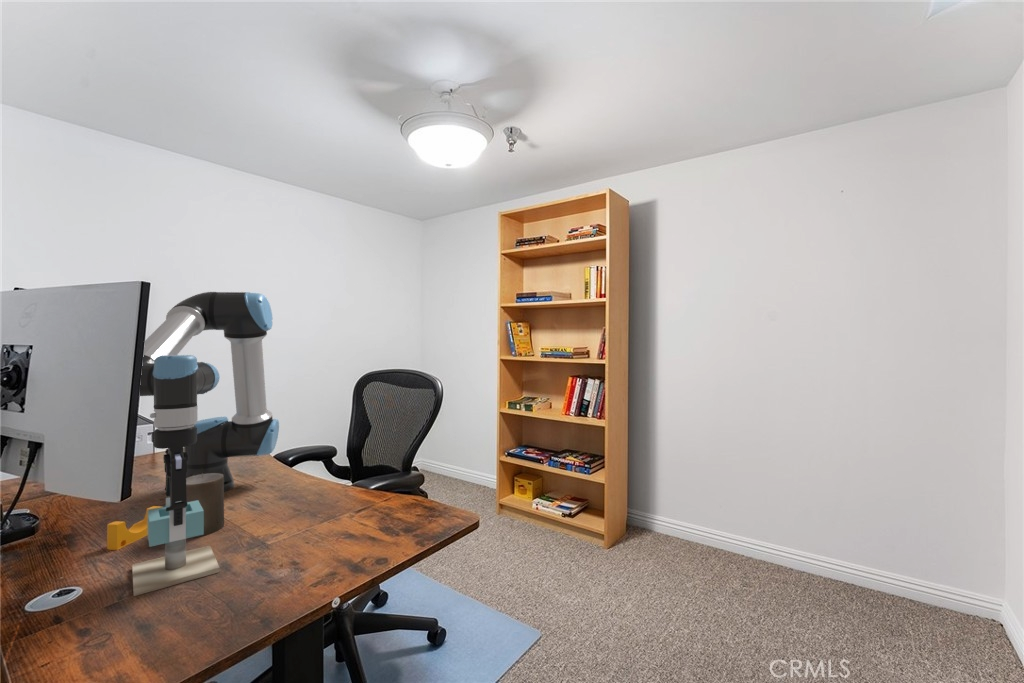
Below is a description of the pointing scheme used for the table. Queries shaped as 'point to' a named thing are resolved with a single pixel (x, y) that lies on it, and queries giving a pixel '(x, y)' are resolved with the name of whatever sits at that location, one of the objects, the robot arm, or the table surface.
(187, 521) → the collar
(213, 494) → the pillar candle
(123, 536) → the pipe clamp
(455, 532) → the table surface
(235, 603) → the table surface
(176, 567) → the post block
